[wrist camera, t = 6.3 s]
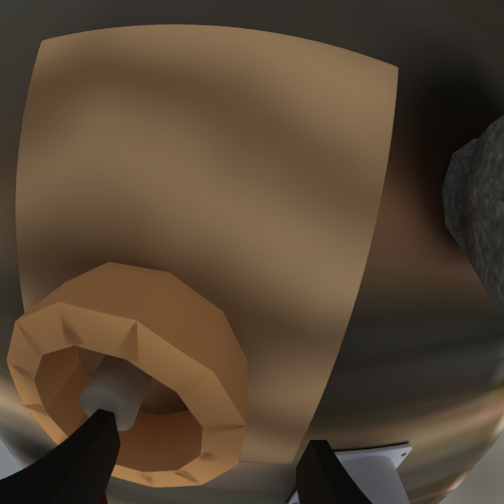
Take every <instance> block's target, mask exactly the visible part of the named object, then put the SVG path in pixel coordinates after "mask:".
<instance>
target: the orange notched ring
mask: <svg viewBox="0 0 504 504" xmlns="http://www.w3.org/2000/svg"><path fill="white" fill-rule="evenodd" d="M77 346H79V347H82V348H85V349H89V350H92V351H96V352H100V353H103V354H107V355H111V356H115V357H119V358H123V359H126V360H128V361H129V362H131V363H132V364H134V365H135V366H137V367H138V368H139V369H141V370H142V371H144V372H146V373H147V374H149V375H150V376H152V377H153V378H155V379H156V380H158V381H159V382H161V383H163V384H164V385H166V386H168V387H169V388H171V389H172V390H174V391H176V392H177V393H178V395H179V396H180V398H181V399H182V400H183V402H184V403H185V405H186V406H187V407H188V409H189V410H188V411H182V412H177V413H171V414H166V415H155V414H151V413H146V412H142V411H138V413H137V416H136V418H135V421H134V424H133V426H132V427H131V428H130V429H128V430H125V431H118V433H119V438H120V442H121V445H120V449H119V453H118V457H117V460H116V464H115V467H114V469H113V472H112V474H111V476H114V477H117V478H121V479H124V480H128V481H131V482H135V483H139V484H143V485H147V486H151V487H178V486H194V485H203V484H204V483H206V482H208V481H210V480H212V479H214V478H215V477H217V476H219V475H221V474H223V473H224V472H226V471H228V470H230V469H231V468H233V467H235V466H236V465H238V462H239V458H240V454H241V450H242V446H243V442H244V438H245V434H246V430H247V426H248V394H247V359H246V357H245V355H244V353H243V351H242V349H241V347H240V345H239V343H238V341H237V339H236V337H235V334H234V332H233V330H232V328H231V326H230V324H229V322H228V320H227V318H226V316H225V314H224V312H223V311H222V310H221V309H220V308H218V307H217V306H215V305H214V304H212V303H211V302H210V301H208V300H207V299H205V298H204V297H203V296H201V295H200V294H199V293H197V292H196V291H194V290H193V289H192V288H190V287H189V286H188V285H186V284H185V283H184V282H182V281H181V280H179V279H178V278H177V277H175V276H174V275H173V274H171V273H170V272H166V271H160V270H154V269H148V268H142V267H136V266H130V265H125V264H119V263H113V262H108V263H105V264H103V265H101V266H99V267H97V268H94V269H92V270H90V271H88V272H86V273H84V274H81V275H79V276H77V277H75V278H73V279H71V280H69V281H67V282H65V283H64V284H63V285H61V286H60V287H58V288H57V289H56V290H54V291H53V292H52V293H51V294H49V295H48V296H47V297H45V298H44V299H43V300H41V301H40V302H39V303H38V304H36V305H35V306H34V307H32V308H31V309H30V310H29V311H27V312H26V313H25V314H24V315H22V316H21V317H20V318H19V319H18V320H16V322H15V326H14V330H13V334H12V338H11V342H10V347H9V351H8V356H7V364H8V367H9V370H10V373H11V375H12V378H13V381H14V384H15V386H16V389H17V392H18V394H19V397H20V399H21V401H22V404H23V406H24V407H25V408H26V410H27V411H28V412H29V413H30V414H31V416H32V417H33V418H34V419H35V420H36V421H37V423H38V424H39V425H40V426H41V427H42V428H43V429H44V431H45V432H46V433H47V434H48V435H49V436H50V437H51V438H52V439H53V440H54V441H55V442H56V443H57V445H59V444H61V443H62V442H63V441H64V440H65V439H66V438H68V437H69V436H70V435H71V434H72V433H73V432H74V431H76V430H77V429H78V428H79V427H80V426H81V425H82V424H83V423H84V422H85V421H86V420H87V419H88V418H89V416H88V415H87V414H86V413H85V412H84V410H83V409H82V407H81V404H80V395H81V393H82V392H83V390H84V388H85V387H86V385H87V384H88V382H89V381H90V379H91V378H90V376H89V375H88V373H87V372H86V370H85V369H84V368H83V366H82V365H81V363H80V361H79V355H78V350H77Z"/></svg>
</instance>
